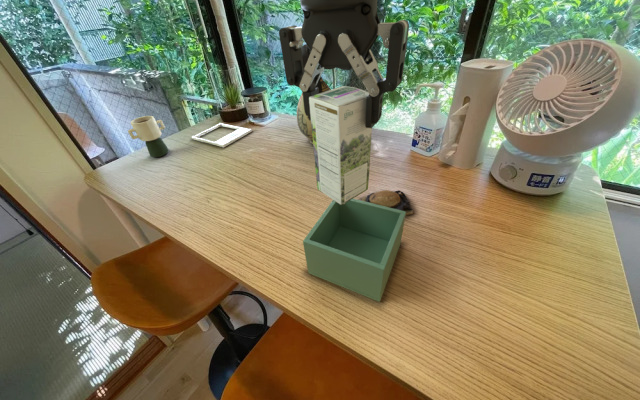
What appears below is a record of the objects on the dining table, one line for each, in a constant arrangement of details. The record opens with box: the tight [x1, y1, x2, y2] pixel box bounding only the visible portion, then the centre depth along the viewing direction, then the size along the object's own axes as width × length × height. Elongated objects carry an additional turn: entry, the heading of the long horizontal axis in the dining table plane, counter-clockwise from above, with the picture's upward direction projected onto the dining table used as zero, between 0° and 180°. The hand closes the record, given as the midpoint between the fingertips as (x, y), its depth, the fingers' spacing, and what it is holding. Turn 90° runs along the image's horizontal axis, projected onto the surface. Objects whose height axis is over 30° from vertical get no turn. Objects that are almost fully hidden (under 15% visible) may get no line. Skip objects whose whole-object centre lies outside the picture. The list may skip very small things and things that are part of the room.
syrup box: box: [309, 85, 373, 205], centre depth 35 cm, size 6×6×14 cm
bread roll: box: [361, 189, 414, 216], centre depth 59 cm, size 11×8×4 cm
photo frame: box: [191, 122, 252, 148], centre depth 100 cm, size 15×1×18 cm
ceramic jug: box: [296, 43, 332, 145], centre depth 80 cm, size 17×15×30 cm
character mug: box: [127, 115, 170, 158], centre depth 88 cm, size 11×7×13 cm, turn 137°
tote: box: [302, 198, 407, 303], centre depth 46 cm, size 14×14×9 cm
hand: (341, 121), depth 33 cm, fingers closed on syrup box, 7 cm apart
